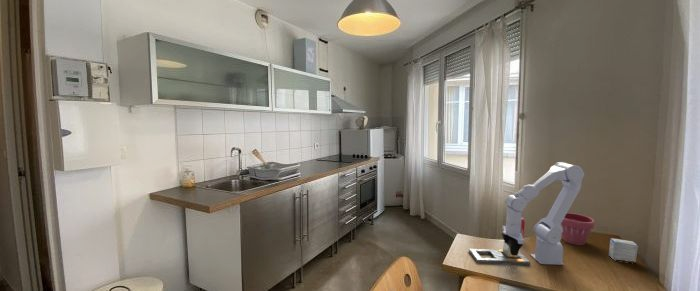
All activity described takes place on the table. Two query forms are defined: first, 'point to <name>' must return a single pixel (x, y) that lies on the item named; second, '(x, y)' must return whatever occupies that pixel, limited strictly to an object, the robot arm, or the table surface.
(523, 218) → the beverage can
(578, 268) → the table surface
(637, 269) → the table surface
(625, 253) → the medicine box
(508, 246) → the grey rectangular block
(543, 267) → the table surface
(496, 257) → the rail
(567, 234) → the plant pot
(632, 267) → the table surface
